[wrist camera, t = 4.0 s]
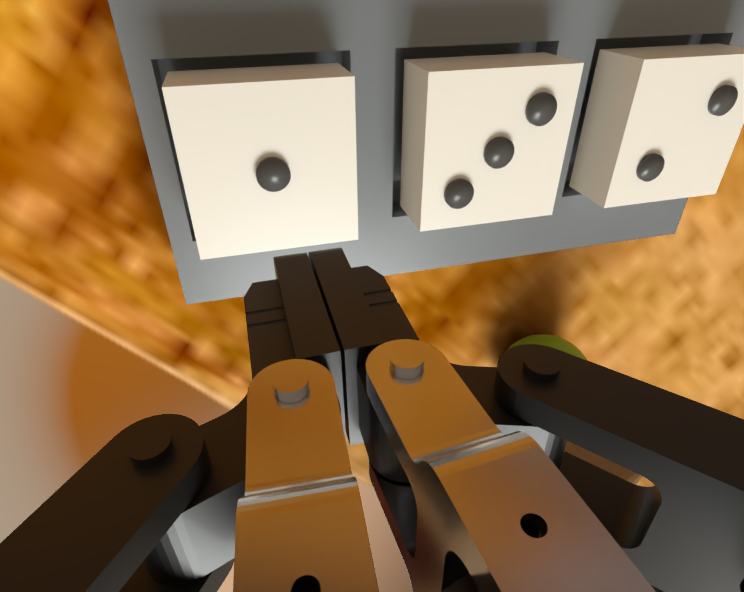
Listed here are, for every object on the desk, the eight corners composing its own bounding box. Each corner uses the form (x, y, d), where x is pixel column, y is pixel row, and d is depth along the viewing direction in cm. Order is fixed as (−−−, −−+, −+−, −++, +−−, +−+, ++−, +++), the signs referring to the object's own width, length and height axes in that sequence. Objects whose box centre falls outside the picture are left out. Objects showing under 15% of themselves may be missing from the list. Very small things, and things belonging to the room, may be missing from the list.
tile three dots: (404, 59, 18) (430, 73, 16) (544, 51, 19) (587, 64, 17) (399, 205, 21) (421, 234, 19) (521, 191, 22) (554, 216, 20)
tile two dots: (599, 49, 20) (648, 60, 17) (717, 43, 21) (776, 53, 19) (568, 186, 23) (606, 210, 21) (673, 174, 24) (719, 195, 22)
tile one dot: (167, 71, 16) (160, 88, 14) (337, 62, 17) (356, 77, 15) (201, 228, 19) (200, 262, 17) (344, 212, 20) (359, 242, 18)
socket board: (112, -48, 16) (94, -50, 14) (715, -50, 21) (779, -52, 19) (188, 268, 23) (186, 304, 21) (635, 209, 28) (675, 233, 26)
